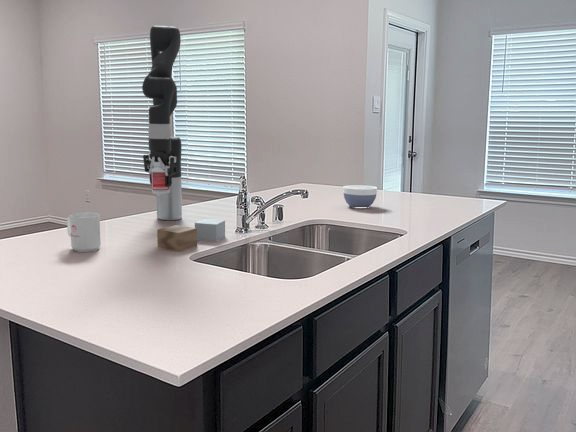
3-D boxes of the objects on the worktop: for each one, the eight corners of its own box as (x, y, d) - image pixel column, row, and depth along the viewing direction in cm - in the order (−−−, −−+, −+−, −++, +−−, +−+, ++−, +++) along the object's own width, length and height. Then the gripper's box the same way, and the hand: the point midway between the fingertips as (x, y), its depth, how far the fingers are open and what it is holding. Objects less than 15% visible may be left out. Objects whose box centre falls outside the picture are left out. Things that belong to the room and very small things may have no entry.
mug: (106, 248, 188) (105, 214, 186) (85, 254, 181) (83, 218, 179) (80, 243, 194) (78, 210, 192) (58, 249, 186) (56, 214, 184)
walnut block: (157, 247, 191) (157, 229, 189) (176, 242, 198) (175, 225, 197) (179, 251, 186) (178, 232, 185) (197, 246, 194) (196, 228, 193)
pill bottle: (172, 193, 204) (172, 161, 202) (155, 195, 200) (154, 162, 198) (165, 191, 209) (165, 160, 207) (149, 192, 205) (148, 160, 203)
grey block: (194, 239, 202) (194, 222, 201) (204, 235, 210) (204, 218, 209) (216, 241, 200) (216, 224, 199) (225, 236, 208) (225, 220, 207)
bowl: (381, 206, 279) (382, 186, 277) (367, 211, 265) (368, 190, 264) (351, 203, 287) (352, 183, 285) (336, 207, 274) (337, 187, 272)
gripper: (136, 136, 201) (137, 184, 204) (168, 138, 194) (169, 188, 197) (151, 135, 208) (152, 182, 211) (183, 137, 200) (183, 186, 204)
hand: (160, 185), depth 204 cm, fingers closed on pill bottle, 6 cm apart
